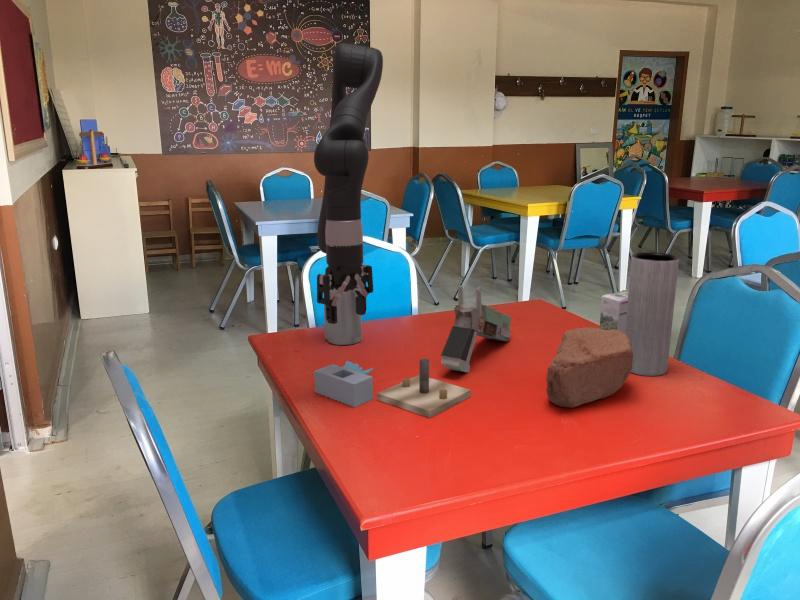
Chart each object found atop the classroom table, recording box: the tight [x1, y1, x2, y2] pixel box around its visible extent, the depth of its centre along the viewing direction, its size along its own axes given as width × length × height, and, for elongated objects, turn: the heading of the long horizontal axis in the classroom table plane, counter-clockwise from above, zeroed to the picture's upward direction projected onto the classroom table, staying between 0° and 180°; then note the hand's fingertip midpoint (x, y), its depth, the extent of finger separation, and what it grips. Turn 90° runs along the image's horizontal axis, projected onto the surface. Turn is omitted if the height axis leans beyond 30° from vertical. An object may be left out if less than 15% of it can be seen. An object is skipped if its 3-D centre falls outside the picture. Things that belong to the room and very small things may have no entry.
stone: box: [545, 326, 633, 409], centre depth 138 cm, size 16×26×15 cm, turn 145°
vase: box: [625, 251, 680, 377], centre depth 151 cm, size 10×10×27 cm
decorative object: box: [342, 360, 374, 375], centre depth 153 cm, size 12×1×10 cm
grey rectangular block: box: [313, 363, 374, 408], centre depth 139 cm, size 12×6×5 cm, turn 49°
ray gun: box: [440, 284, 512, 373], centre depth 163 cm, size 7×32×20 cm, turn 152°
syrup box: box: [599, 292, 628, 333], centre depth 165 cm, size 6×6×14 cm
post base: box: [376, 358, 472, 419], centre depth 137 cm, size 14×14×8 cm
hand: (346, 318), depth 136 cm, fingers open, 8 cm apart
